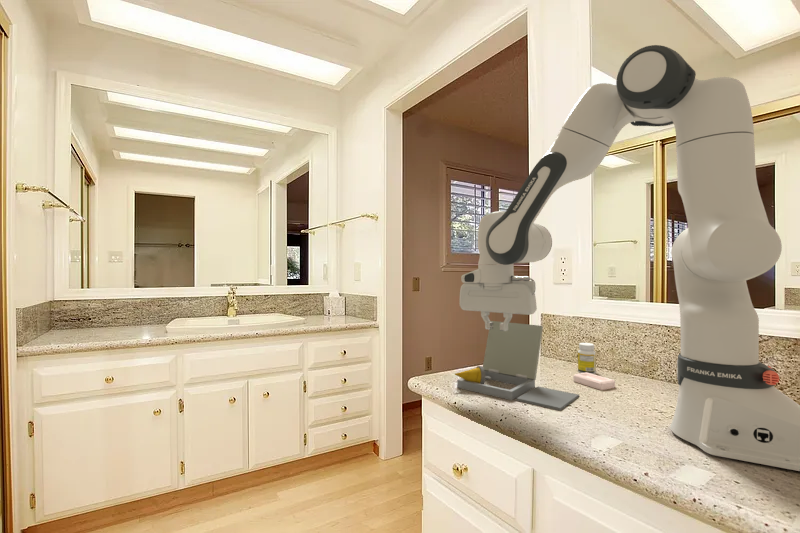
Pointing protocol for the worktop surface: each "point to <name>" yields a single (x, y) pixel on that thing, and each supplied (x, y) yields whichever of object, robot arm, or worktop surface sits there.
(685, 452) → the worktop surface
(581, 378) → the soap bar
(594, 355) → the supplement bottle
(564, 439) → the worktop surface
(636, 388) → the worktop surface
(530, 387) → the equipment case
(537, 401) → the rubber mat
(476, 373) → the yellow cone
